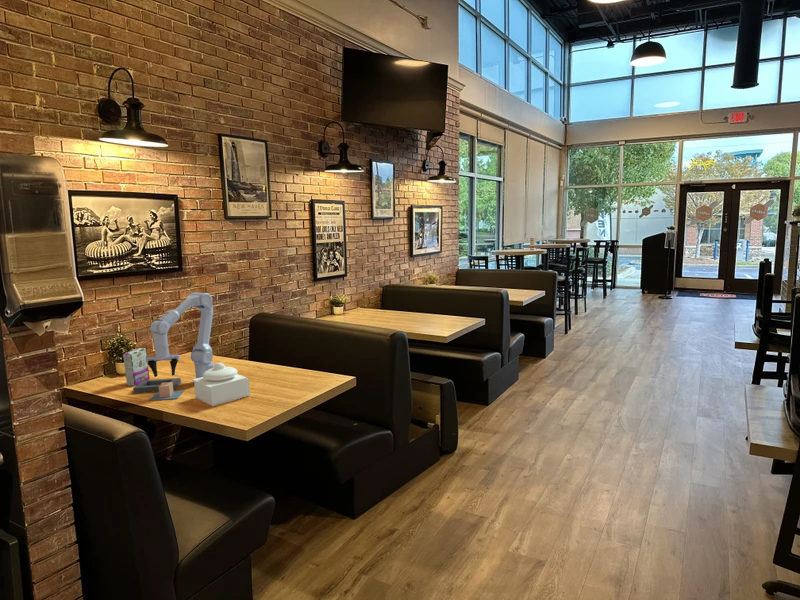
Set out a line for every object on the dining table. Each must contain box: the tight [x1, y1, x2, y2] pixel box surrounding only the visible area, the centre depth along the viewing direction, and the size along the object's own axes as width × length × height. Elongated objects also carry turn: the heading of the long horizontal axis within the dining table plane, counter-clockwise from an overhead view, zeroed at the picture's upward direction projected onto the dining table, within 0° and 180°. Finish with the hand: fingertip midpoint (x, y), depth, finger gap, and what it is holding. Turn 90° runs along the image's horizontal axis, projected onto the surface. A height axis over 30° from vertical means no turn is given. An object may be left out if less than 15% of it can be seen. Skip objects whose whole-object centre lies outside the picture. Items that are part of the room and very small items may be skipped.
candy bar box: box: [122, 347, 151, 387], centre depth 263 cm, size 11×5×16 cm, turn 168°
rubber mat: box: [148, 389, 185, 402], centre depth 242 cm, size 12×12×1 cm
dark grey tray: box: [132, 377, 182, 394], centre depth 254 cm, size 18×12×2 cm
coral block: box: [159, 382, 175, 397], centre depth 241 cm, size 4×6×5 cm
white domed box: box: [192, 362, 251, 407], centre depth 236 cm, size 18×18×16 cm
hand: (164, 375), depth 244 cm, fingers open, 7 cm apart
